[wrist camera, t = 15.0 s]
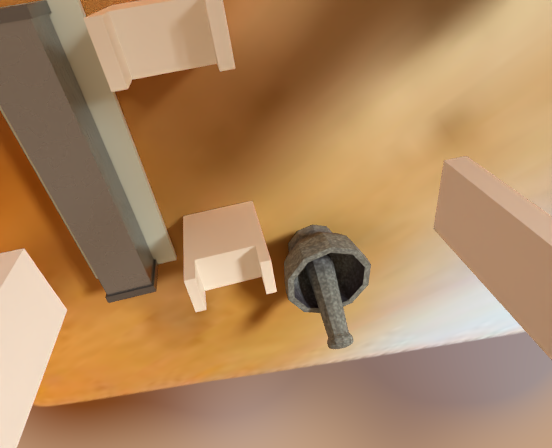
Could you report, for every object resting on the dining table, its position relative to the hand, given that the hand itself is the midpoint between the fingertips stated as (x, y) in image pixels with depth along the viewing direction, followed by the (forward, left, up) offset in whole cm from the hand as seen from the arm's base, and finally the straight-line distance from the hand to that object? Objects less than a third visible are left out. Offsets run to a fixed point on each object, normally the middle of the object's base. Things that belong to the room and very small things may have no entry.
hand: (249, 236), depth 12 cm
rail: (+6, -13, -25) cm, 28 cm away
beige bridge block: (-4, -2, -26) cm, 26 cm away
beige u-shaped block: (+16, -2, -26) cm, 30 cm away
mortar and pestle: (+23, +8, -26) cm, 36 cm away
